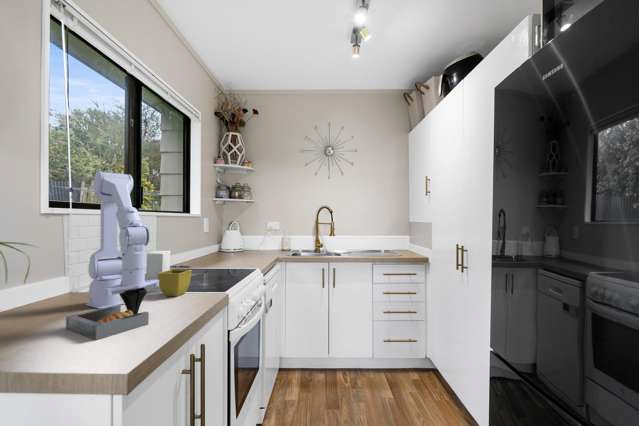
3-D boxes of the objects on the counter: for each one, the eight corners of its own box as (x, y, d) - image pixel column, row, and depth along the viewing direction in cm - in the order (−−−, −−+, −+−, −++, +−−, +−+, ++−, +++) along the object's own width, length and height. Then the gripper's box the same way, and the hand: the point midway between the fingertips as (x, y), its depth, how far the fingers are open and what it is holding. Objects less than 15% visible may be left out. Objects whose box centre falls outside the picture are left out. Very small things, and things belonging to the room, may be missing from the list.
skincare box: (154, 287, 128) (155, 250, 129) (170, 287, 129) (171, 250, 129) (144, 292, 120) (145, 252, 120) (162, 292, 121) (163, 252, 121)
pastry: (98, 335, 76) (98, 320, 76) (87, 330, 80) (87, 315, 80) (137, 325, 84) (138, 311, 84) (126, 320, 88) (126, 307, 88)
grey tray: (65, 328, 80) (65, 316, 80) (117, 315, 92) (117, 304, 92) (96, 340, 73) (96, 326, 73) (148, 324, 84) (148, 312, 84)
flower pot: (156, 297, 113) (156, 272, 113) (171, 291, 122) (172, 269, 122) (178, 298, 111) (178, 273, 112) (191, 292, 120) (192, 269, 120)
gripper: (114, 273, 80) (113, 326, 80) (165, 266, 93) (164, 311, 92) (100, 271, 83) (99, 321, 83) (151, 264, 96) (150, 308, 96)
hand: (132, 316), depth 88 cm, fingers closed
